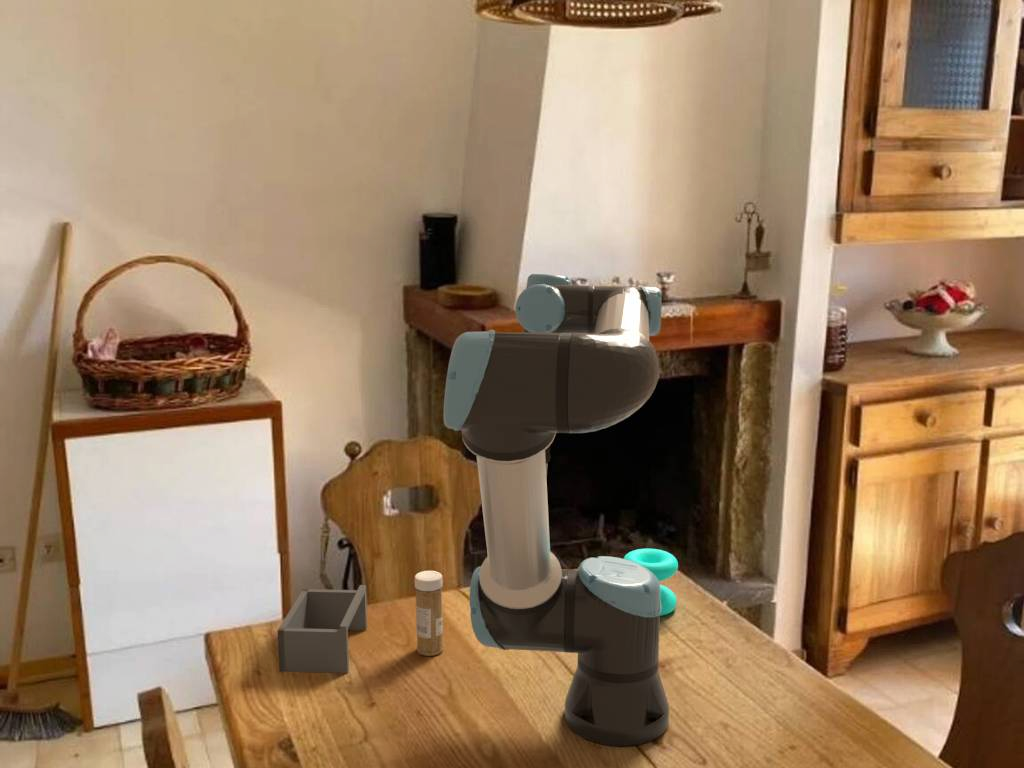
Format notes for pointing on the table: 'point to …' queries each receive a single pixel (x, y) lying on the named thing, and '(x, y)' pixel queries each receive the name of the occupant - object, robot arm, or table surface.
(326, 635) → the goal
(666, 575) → the donuts
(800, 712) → the table surface
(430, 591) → the sprinkles bottle
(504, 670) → the table surface
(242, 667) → the table surface
